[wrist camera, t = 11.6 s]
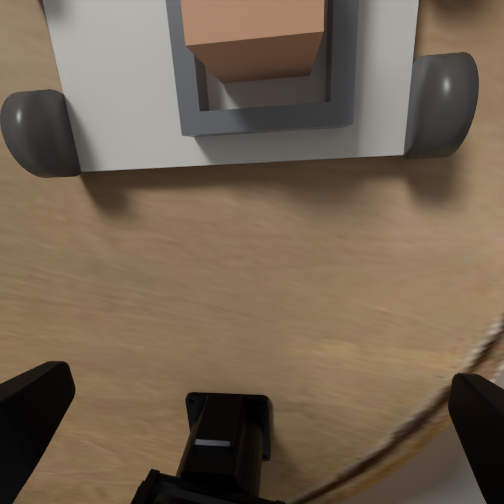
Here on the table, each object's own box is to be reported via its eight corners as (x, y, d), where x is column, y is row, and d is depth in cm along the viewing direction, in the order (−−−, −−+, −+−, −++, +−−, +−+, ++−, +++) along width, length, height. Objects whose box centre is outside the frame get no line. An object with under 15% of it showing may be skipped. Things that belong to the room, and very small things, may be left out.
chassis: (423, 156, 17) (467, 158, 13) (73, 174, 19) (16, 181, 15) (463, -179, 13) (549, -339, 8) (9, -100, 15) (-94, -193, 11)
